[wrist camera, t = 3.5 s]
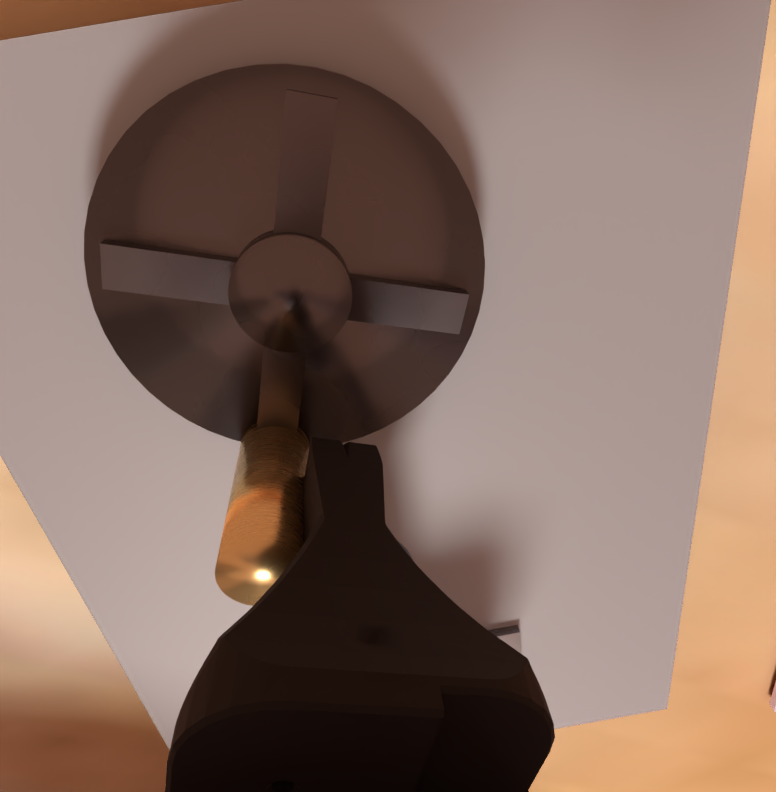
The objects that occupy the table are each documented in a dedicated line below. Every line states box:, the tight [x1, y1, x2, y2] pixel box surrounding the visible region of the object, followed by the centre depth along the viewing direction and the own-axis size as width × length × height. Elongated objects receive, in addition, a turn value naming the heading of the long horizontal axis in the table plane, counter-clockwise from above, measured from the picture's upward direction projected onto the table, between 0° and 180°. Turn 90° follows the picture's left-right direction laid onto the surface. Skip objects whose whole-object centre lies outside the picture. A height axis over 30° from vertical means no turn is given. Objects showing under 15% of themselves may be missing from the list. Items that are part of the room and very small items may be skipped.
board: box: [0, 0, 771, 750], centre depth 17 cm, size 18×24×1 cm
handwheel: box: [84, 63, 485, 606], centre depth 11 cm, size 8×9×5 cm
